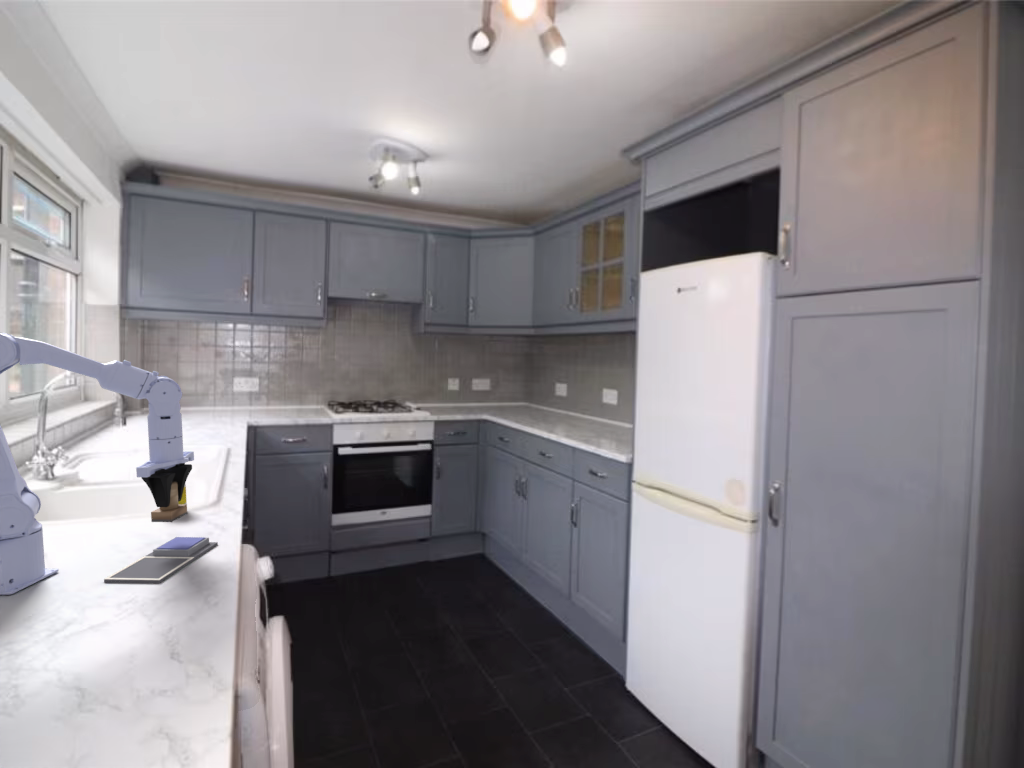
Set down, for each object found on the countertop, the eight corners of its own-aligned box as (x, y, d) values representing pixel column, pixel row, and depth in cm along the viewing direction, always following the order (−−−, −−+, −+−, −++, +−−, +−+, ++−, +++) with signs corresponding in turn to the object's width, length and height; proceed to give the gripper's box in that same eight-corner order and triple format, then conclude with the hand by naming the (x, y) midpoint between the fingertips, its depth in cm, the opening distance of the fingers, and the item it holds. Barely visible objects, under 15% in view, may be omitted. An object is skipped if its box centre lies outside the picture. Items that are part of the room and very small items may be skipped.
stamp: (171, 522, 105) (169, 487, 105) (151, 521, 105) (149, 487, 105) (187, 513, 110) (185, 480, 110) (168, 513, 110) (166, 480, 110)
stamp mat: (159, 583, 94) (159, 572, 94) (104, 582, 95) (103, 571, 95) (217, 544, 112) (217, 535, 112) (170, 544, 113) (170, 535, 112)
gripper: (161, 444, 99) (164, 515, 100) (206, 431, 114) (209, 493, 115) (123, 444, 99) (127, 515, 100) (174, 431, 114) (177, 493, 115)
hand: (169, 503), depth 108 cm, fingers closed on stamp, 3 cm apart
